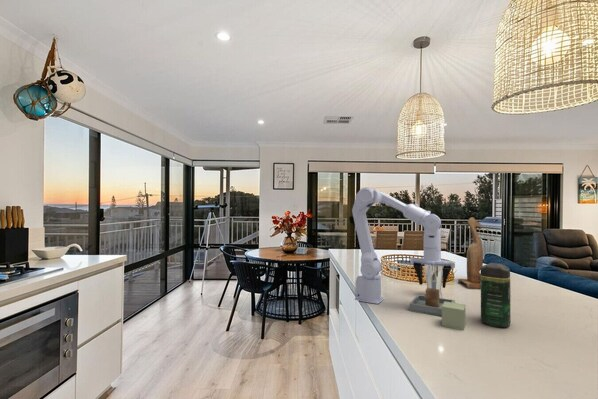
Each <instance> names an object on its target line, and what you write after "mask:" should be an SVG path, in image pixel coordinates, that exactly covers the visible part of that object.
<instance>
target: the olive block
mask: <svg viewBox="0 0 598 399" xmlns="http://www.w3.org/2000/svg"><path fill="white" fill-rule="evenodd" d="M466 310H467V309H466V304H465V303H464V304H463V303H458V302H457V303H456V302H455V303H452V302H445V301H444V303H443V305H442V316H441V327H447V328H450V329H456V330H462V331H464V330H465V327H466V324H467V323H466V321H467V316H466V315H467V314H466Z"/></svg>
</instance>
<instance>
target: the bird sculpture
mask: <svg viewBox="0 0 598 399" xmlns="http://www.w3.org/2000/svg"><path fill="white" fill-rule="evenodd" d="M467 224H468V227H469V229H470V232H471V236H472V240H473V241H472V243H471V244H470V245H469V246H468V248H467V251H466V278H458V279H457V284H465V285H466V288H467V289H473V290H475V289H476V290H481V274H480V273H481V267H482V266H484V258H483V257H484V254H483V253H484V251H483V245H482V241H481V238H480V236H479V233H478V231H477V229H479V230H480V229H482V227H483V226H482V224H481V222H479V221H478V220H476V219H475V217H473V216H472V217H470V218H468V219H467Z"/></svg>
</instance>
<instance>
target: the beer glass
mask: <svg viewBox="0 0 598 399" xmlns="http://www.w3.org/2000/svg"><path fill="white" fill-rule="evenodd" d="M442 268H443V266H433V265H424V277H425V282H426V289H427V288H432V289H439V298H443V292H442V284H443V271H442Z"/></svg>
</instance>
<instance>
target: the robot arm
mask: <svg viewBox="0 0 598 399" xmlns="http://www.w3.org/2000/svg"><path fill="white" fill-rule="evenodd" d="M353 203H354V204H353V206H352V208H351V213H352V218H353V222H354V225H355V231H356V235H357V239H358V244H359V249H360V253H361V254H360V255H361V256H360V263H361V265H360V273H361V275H357V277H356V278H355V282H354V283H355V285H354V286H355V293H354V294H355V298H354V300H355V301H358V302H365V303H370V304H376V305H379V304H380V303H382V301H383V300H385V297H383V296H382V277H381V274H380V272H382V266H383V265H382V263H381V260H379V258H378V255H377V252H375V249H374V244H373V240H372V234H371V231H370V226H369V222H368V218H367V212H368V210H369V209H370V208H371V207H372V206H373V205H375V204H376V203H378V204H380V203H381V204H385V205H387V206H389V207H391V208H393V209H395V210H398V211H399V212H401V213H402V215H403V217H404V218H405V219H407V220H410V221H411V222H413V223H415V224H417V225H419V226H420V225H421V226H423V257H411V258H410V265H411V264H412V265H413V266H412V267H413V269H414V270H415V273H416V276H417V279H418V283H419V285H420V286H422V285H423V282H424V281H423V265H424V266H425V265H433V266H443V268H442V271H443V279H442V285H441V287H442V288H443V289H445V288H446V284H447V279H448V277H449V275H450V272H451V271H452V269H455V268H456V262H455V261H451V260H444V259H442V241H441V240H442V236H441V224H442V221H441V218H440V217H439V216H438V215H436V214H435V213H431V210H426V209H424V208H421V207H420V206H419V204H417V203H409V204H406V203H404V202H403V201H400V200H398V199H397V198H394V197H393V196H391V195H389V194H388V193H386V192H382V191H380V190H377V189H375V188H370V187H362V188H360V189H359V191H358V192H357V193H356V194H355V199H354V202H353Z"/></svg>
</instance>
